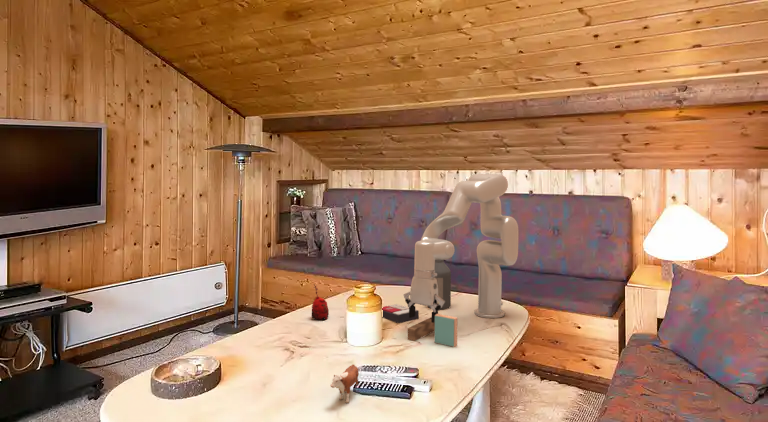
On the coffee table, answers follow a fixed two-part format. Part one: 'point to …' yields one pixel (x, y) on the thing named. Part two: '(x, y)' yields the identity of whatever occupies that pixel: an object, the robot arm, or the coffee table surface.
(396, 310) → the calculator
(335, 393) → the coffee table surface
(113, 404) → the coffee table surface
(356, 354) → the coffee table surface
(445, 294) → the liquor
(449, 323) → the tile
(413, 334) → the stick
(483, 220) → the robot arm
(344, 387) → the bull figurine
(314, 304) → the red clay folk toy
